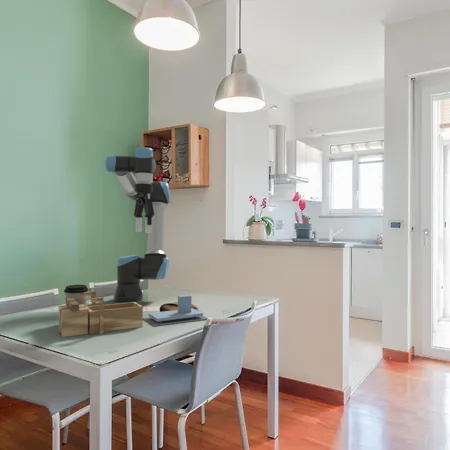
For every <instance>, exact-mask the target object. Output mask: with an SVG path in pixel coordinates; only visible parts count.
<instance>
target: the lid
mask: <svg viewBox="0 0 450 450" xmlns="http://www.w3.org/2000/svg"><path fill="white" fill-rule="evenodd" d="M177 302H178V310H173V311H164V312H160V311H157V312H149V313H148V314H147V315H148V317H151V318H152V319H154V320H155V321H157V322H159V323H161V321H166V320H174V319H182V318H190V317H195V318H198V316H204V313H203V312H202V311H199V310H198V309H193V308H191V304H192V295H190V294H185V295H184V294H183V295H182V294H181V295H177Z"/></svg>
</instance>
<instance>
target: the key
mask: <svg viewBox="0 0 450 450" xmlns="http://www.w3.org/2000/svg"><path fill="white" fill-rule="evenodd" d="M65 298H66V301H65V306H66V305H67V306H68V307H69V309H70V310H71V311H72V312H75V311H79V304H78V303H77V302H76V300H75V299H74V298H73V297H65Z"/></svg>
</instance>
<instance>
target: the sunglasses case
mask: <svg viewBox="0 0 450 450" xmlns="http://www.w3.org/2000/svg"><path fill="white" fill-rule="evenodd" d="M191 308H193V309H195V310H198V309H199V308H198V307H197V306H196V305H194V304H193V303H191ZM173 310H178V301H175V302H170V303H169V302H167V303H163V304H162V305H160V307H159V312H164V311H173Z"/></svg>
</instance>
